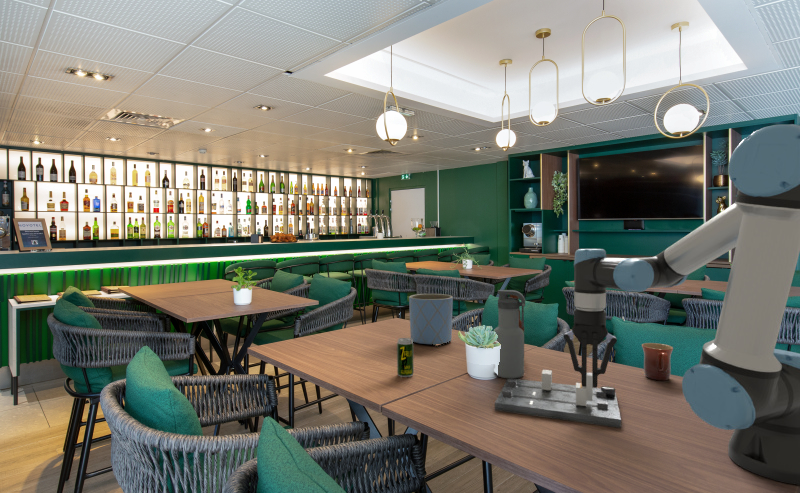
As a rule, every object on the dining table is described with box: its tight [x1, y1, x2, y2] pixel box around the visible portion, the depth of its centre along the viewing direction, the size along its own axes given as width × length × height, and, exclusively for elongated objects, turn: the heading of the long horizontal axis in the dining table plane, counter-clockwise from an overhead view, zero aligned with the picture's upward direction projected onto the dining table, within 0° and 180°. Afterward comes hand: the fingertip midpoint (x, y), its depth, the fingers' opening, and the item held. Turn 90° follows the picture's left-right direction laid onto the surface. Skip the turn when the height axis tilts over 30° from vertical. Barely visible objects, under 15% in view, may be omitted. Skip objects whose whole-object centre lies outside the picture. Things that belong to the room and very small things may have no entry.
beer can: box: [396, 337, 415, 378], centre depth 147 cm, size 5×5×12 cm
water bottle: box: [493, 289, 526, 380], centre depth 147 cm, size 10×10×28 cm
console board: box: [494, 378, 622, 429], centre depth 122 cm, size 22×30×4 cm
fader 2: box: [575, 382, 586, 406], centre depth 116 cm, size 4×2×5 cm, turn 158°
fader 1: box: [541, 369, 553, 390], centre depth 127 cm, size 4×2×5 cm, turn 158°
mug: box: [641, 342, 674, 381], centre depth 141 cm, size 12×9×10 cm
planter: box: [408, 293, 454, 346], centre depth 194 cm, size 19×19×20 cm
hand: (589, 398), depth 115 cm, fingers closed
